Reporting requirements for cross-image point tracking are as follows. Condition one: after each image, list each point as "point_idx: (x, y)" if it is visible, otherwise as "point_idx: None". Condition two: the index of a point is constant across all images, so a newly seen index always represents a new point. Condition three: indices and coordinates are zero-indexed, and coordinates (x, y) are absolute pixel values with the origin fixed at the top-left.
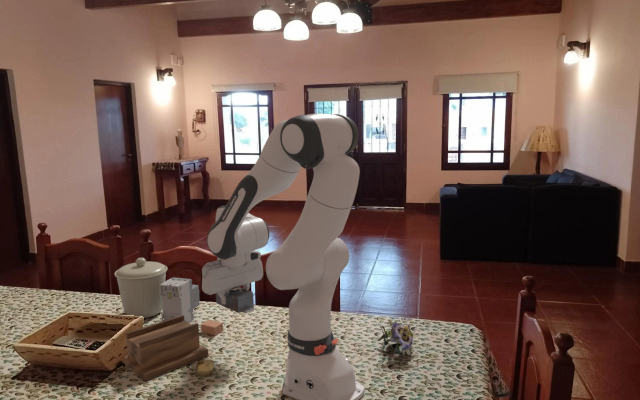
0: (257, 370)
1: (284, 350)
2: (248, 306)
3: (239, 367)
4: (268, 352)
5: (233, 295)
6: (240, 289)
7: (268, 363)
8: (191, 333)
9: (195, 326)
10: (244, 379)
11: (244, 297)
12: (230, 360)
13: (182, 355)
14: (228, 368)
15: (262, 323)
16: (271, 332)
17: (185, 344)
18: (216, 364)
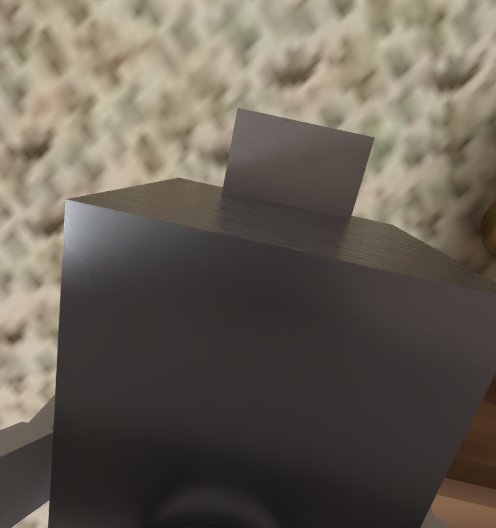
0: (387, 18)
1: (148, 42)
2: (248, 199)
3: (404, 123)
4: (211, 103)
5: (450, 447)
6: (120, 520)
7: (301, 19)
8: (473, 451)
9: (463, 473)
10: (493, 12)
11: (323, 241)
12: (369, 209)
13: (494, 389)
14: (436, 163)
15: (15, 327)
16: (51, 232)
17: (483, 423)
18: (430, 237)
